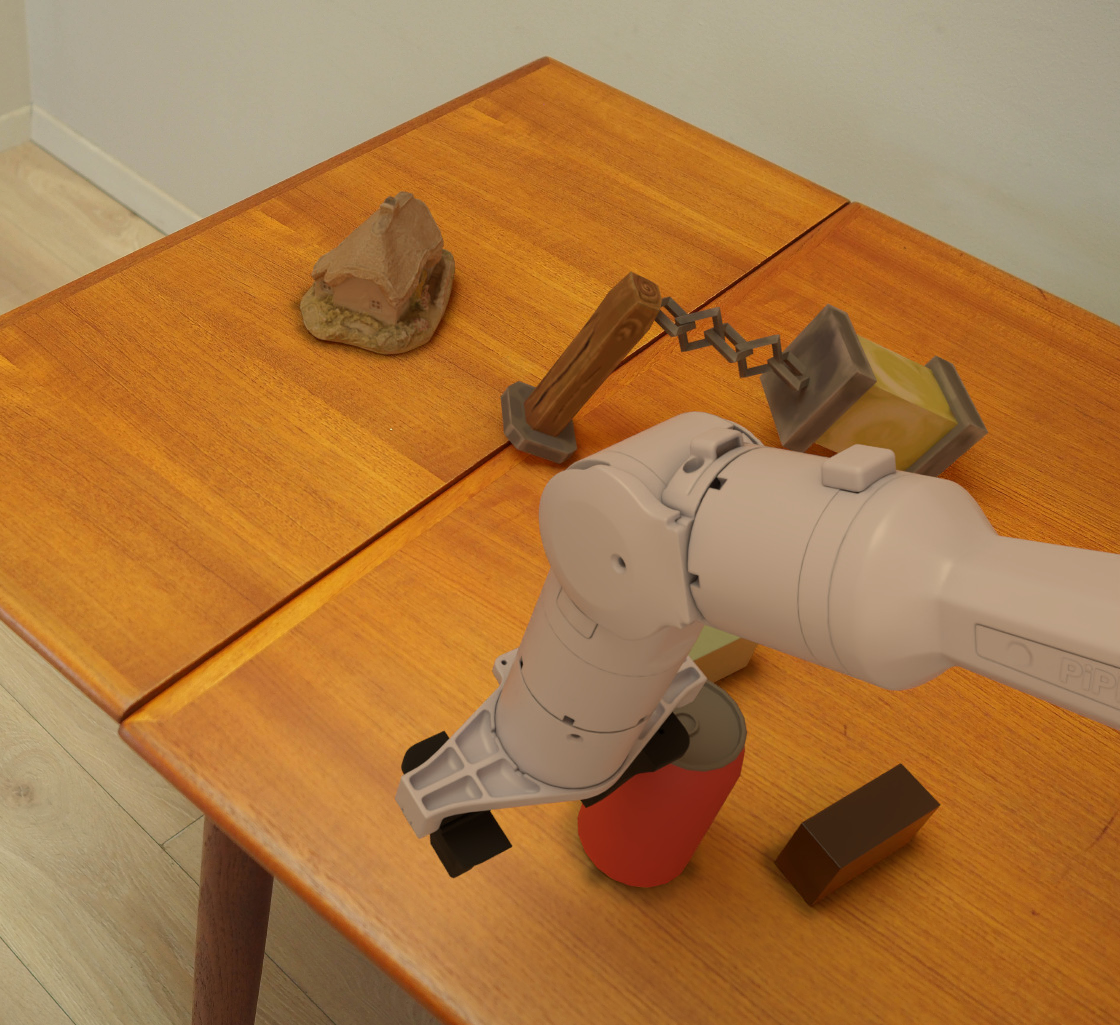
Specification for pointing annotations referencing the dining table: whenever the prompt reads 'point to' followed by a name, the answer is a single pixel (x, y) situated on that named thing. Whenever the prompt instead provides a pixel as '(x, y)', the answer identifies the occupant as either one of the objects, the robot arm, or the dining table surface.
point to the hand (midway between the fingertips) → (515, 821)
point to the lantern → (764, 384)
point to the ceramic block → (720, 653)
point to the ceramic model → (383, 281)
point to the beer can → (669, 798)
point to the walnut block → (855, 833)
